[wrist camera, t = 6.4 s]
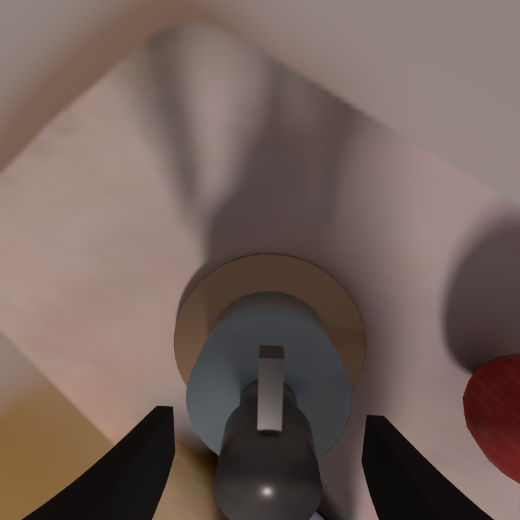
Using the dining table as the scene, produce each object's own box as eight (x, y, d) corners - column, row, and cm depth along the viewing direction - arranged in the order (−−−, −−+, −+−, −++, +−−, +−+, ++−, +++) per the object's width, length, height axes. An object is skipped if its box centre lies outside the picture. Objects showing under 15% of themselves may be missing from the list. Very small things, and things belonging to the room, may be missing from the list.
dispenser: (265, 453, 18) (263, 557, 13) (139, 339, 17) (80, 403, 12) (401, 349, 17) (463, 420, 11) (272, 211, 15) (274, 218, 10)
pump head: (266, 462, 12) (265, 550, 9) (182, 387, 11) (151, 453, 8) (356, 394, 11) (388, 465, 8) (271, 308, 10) (272, 351, 7)
